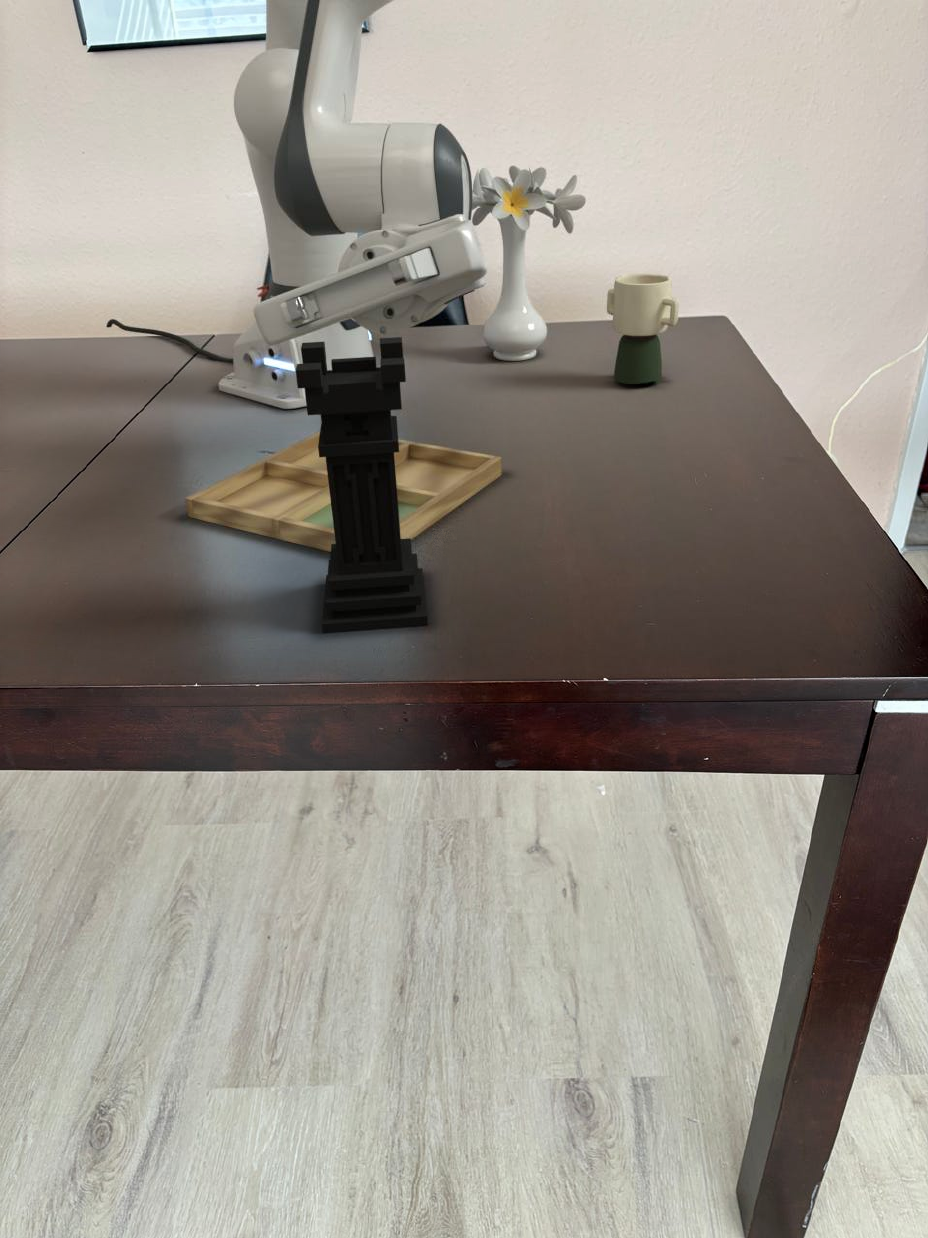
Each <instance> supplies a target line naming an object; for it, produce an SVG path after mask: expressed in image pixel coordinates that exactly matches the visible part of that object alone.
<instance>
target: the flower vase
mask: <svg viewBox="0 0 928 1238" xmlns="http://www.w3.org/2000/svg"><path fill="white" fill-rule="evenodd" d="M508 174H509V177H510V180H511V182H512V184H510V181H509V178H507V177H502V176H498V175H497V176H494V177H493V178H492V175H491V172H490V171H489V169H488V168H486V167H482V168H481V169H480V170H479V169H477V170H476V173H475V175H474V178H473V182H472V211H473V210H475V211H474V212H473V215H472V217H471V221H472V223H473V226H474V227H477V226H478V225H481V223H483V221H484V220H485V219H486V218H487V216H488V215H489V214H491V215H492V217H493V219H496V220H497V221H498V223H499V229H500V232H501V240H502V253H503V255H502V285H501V292H500V296H499V298H498V302H497V304H496V307H495V309H494V310H493V311H492V313H490V314H489V316H488V317H487V318H486V320H485V321H484V323H483V326H482V330H481V336H482V339H483V341H484V343H485V344H486V345H487V347H489V348H490V349H491V350H493V353H492V354H493V357H494V358H496V359H497V360H501V361H508V362H517V361H518V362H520V361H527V360H530V359H533V358H535V357H536V355H537V349H538V348H539V347H541V346H542V345H543V344H544V342H545V341H546V338H547V336H548V327H547V324H546V322H545V320H544V318H543V316H542V315H541V313H539V312H538V311H537V309H535V307H534V306H533V304H532V302H531V299H530V297H529V293H528V288H527V276H526V253H525V251H526V237H527V230H529V228H530V225H531V216H532V215H533V214H534V213H535V211H536V212H538V213H540V214H543V215H545V216H547V217H548V218H550V219H551V220H552V222H551V223H552V228H553V229H557V228H558V227H559V225H560V223H562V225H563V227H564V229H565V232H567V234H569V235H571V234H572V233H573V231H574V218H573V215H572V214H571V212H572V211H573V212H575V211H578V210H581V209H582V208H583V207H584V206H585V205H586V203H587V199H586V197H585V196H584V195H582V194H573V192H574V191H575V189H576V187H577V184H578V175H577V174H574V175H572V176H571V177H570V178H569V180H568V181H567V183H566V184H565V186H564V187H563V188H557V189H556V190H555V192H552V191H550V190H548V189H541V187H542V185H543V184H544V182H545V180H546V178H547V170H546V168H545V167H543V166H542V167H541V166H540V167H537V168H535V169H534V170H533V171H531V168H530V167H529V168H528V169H527V168H524V169H521V168H519V167H518V166H516V165H510V166H509V168H508ZM547 204H550V205H552V206H553V212H552V210H551V209H550V208H549V207H548V205H547Z"/></svg>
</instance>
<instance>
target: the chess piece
mask: <svg viewBox="0 0 928 1238" xmlns="http://www.w3.org/2000/svg"><path fill="white" fill-rule="evenodd" d="M403 347H404V346H403V337H402V336H395V337H380V338H379V351H380V361H379V362H380V363H379V364H380V366H377V358H376V356H374V357H361V358H344V359H332V360H331V365H332V370H327V363H326V351H325V342H308V343H302V346H301V354H302V362H303V364H297V367H296V378H297V386H298V389H299V388H304V389H305V397H306V405H307V406H306V412H307V416H319V415H320V429H319V431H320V436H319V443H318V450H319V457H326V465H327V474H328V482H329V491H330V499H331V508H332V516H333V525H334V533H335V542H336V544H331V552H330V558H329V559H328V563H327V564H328V565H327V574H326V576H325V583H324V584H325V586H324V597H323V606H322V607H323V609H322V618H321V619H322V620H321V627H322V633H323V634H329V633H342V632H358V631H369V630H370V631H371V630H381V629H396V628H397V629H398V628H409V627H423V626H428V625H429V620H428V609H427V600H426V590H425V579H424V570H423V567H419V562H418V554H417V553H413V548H412V540H411V538H408V539H401V535H400V522H399V510H398V497H397V484H396V471H395V459H394V453H395V452H399V442H398V439H399V432H398V430H399V429H398V418H397V415H392V411H398V410H399V411H400V410H403V406H402V393H401V391H402V390H401V383H406V382H407V377H406V364H405V357H404V348H403ZM376 366H377V368H376Z"/></svg>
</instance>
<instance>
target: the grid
mask: <svg viewBox="0 0 928 1238" xmlns="http://www.w3.org/2000/svg"><path fill="white" fill-rule="evenodd" d="M319 436H320V430H319V431H316V432H315V433H313V434H311V435H308V436H307V437H306V436H305V438H302V439H301V440H298V441H296V442H294V443H291V445H288V446H286V447H285V448H283V449H280V450H278V451H276V452H274V453H271V454H270V455H268V456H266V457H265V458H263V459H260V460H259V461H257V462H255V463H252V464H250V465H248V466H246V467H245V468H242V469H241V470H239V471H236V472H234V473H232V474H229V476H227V477H225V478H222V479H221V480H219V481H216V482H215V483H213V484H211V485H208V486H206V487H204V488H202V489H200V490H198V491H197V492H194V493H193V494H190V495H188V496H186V497H185V498H184V500H185V501H184V502H185V507H186V511H187V517H188V518H192V519H194V520H200V521H203V522H206V523H207V522H208V523H211V524H214V525H215V524H216V525H219V526H224V527H228V528H232V529H236V530H239V531H244V532H248V533H252V534H256V535H260V536H265V537H268V538H272V539H277V540H280V541H285V542H289V543H292V544H296V545H300V546H305V547H309V548H312V549H316V550H321V551H324V552H329V553H331V544H336V542H335V533H334V525H333V516H332V508H331V499H330V491H329V482H328V474H327V465H326V457H319V450H318V443H319ZM398 442H399V452H395V453H394V459H395V471H396V484H397V497H398V510H399V522H400V535H401V539H408V538H411V541H412V540H413V539H415V538H416V537H417V536H419V535H420V534H421V533H423V532H424V531H426V530H427V529H428V528H431V526H433V525H434V524H436V523H437V522H438V521H440V520H441V519H442V518H444V517H445V516H447V515H449V514H450V512H452V511H454V510H455V509H456V508H458V507H459V506H460V505H462V504H463V503H465V502H466V501H467V500H469V499H470V498H472V497H473V496H474V495H476V494H477V493H478V492H480V491H481V490H483V489H484V488H486V487H487V486H488V485H490V484H491V483H493V482H494V481H495V480H497V479H498V478H500V477H501V476H502V457H501V456H496V455H493V454H492V455H491V454H486V453H480V452H474V451H468V450H463V449H458V448H452V447H447V446H440V445H434V444H428V443H422V442H417V441H410V440H405V439H399V438H398Z"/></svg>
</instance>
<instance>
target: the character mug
mask: <svg viewBox="0 0 928 1238" xmlns="http://www.w3.org/2000/svg"><path fill="white" fill-rule="evenodd" d="M613 283H614V284H613V288H609V289H608V291H607V295H606V313H607V314H608V315H611V316H612V329H613V331H614V332H615V333H617V334H619V335H620V334H621V335H622V336H621V337H620V339H619V342H618V347H617V353H616V359H615V364H614V372H613V379H614V380H615V381H617V382H618V383H621V384H626V385H639V384H644V385H645V386H646V385H649V383H652V382H655V381H661V380H663V370H662V369H663V368H662V367H663V366H662V365H663V364H662V363H663V361H662V350H661V349H662V348H661V340H660V338H659V336H658V335H659V334H660V335H661V334H662V333H664V332H666V330H668V327H675V326H676V325H677V323H678V319H679V309H680V307H679V306H680V303H679V300H678V299H677V298H674V297H672V288H673V279H672V277H670V276H669V275H665V274H664V275H663V274H661V273H660V274H659V273H632V274H623V275H619V276H617V277H615V279H614V282H613Z"/></svg>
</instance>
